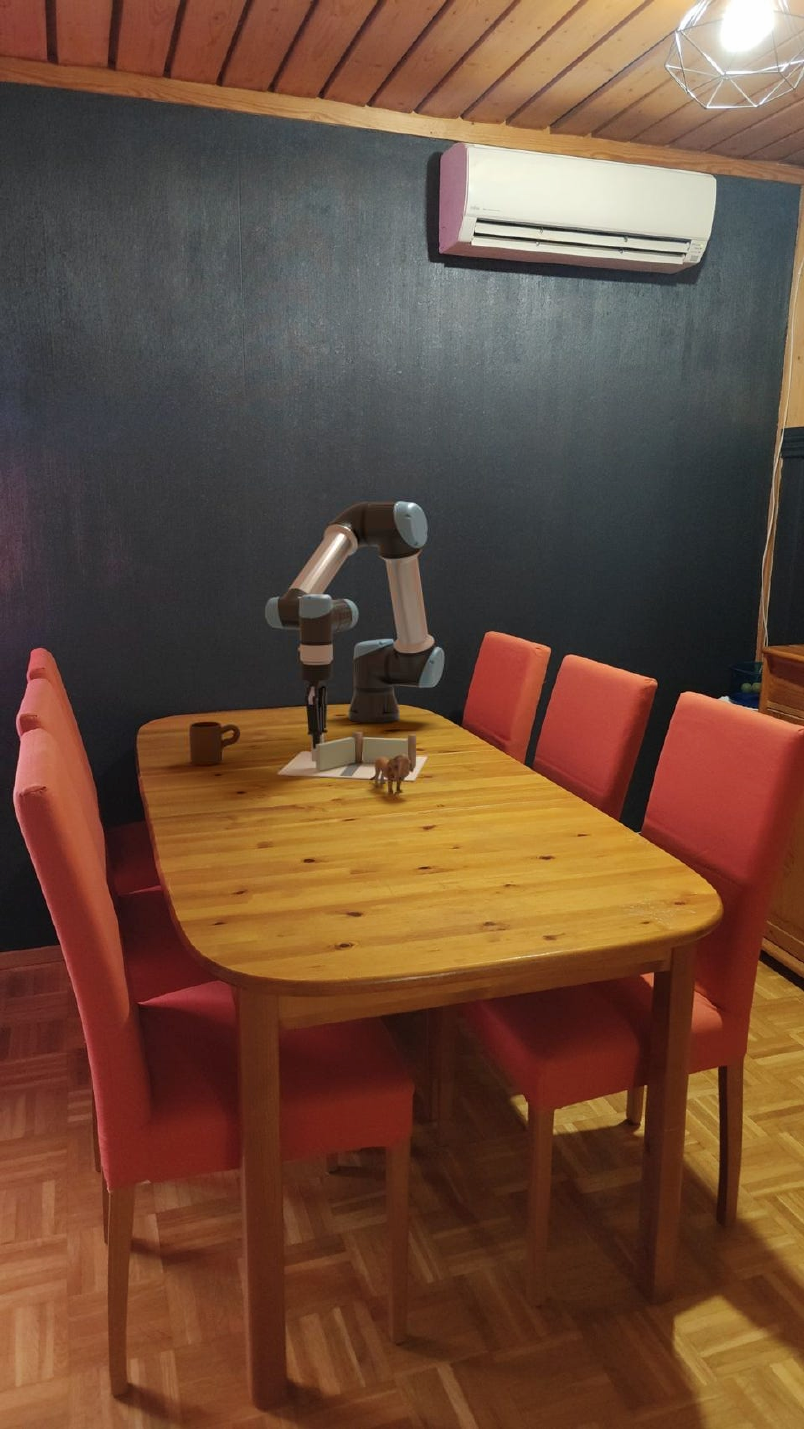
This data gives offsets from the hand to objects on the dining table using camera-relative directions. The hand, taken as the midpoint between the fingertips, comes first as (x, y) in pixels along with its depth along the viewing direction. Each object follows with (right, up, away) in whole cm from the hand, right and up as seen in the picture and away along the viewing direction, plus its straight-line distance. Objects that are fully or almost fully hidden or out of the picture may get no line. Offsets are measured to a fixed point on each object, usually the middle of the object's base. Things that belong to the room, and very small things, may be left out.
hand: (317, 760), depth 227 cm
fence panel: (+4, -1, +1) cm, 4 cm away
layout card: (+9, -1, +3) cm, 9 cm away
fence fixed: (+15, -1, +5) cm, 16 cm away
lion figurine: (+17, -6, -17) cm, 25 cm away
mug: (-25, -1, +6) cm, 26 cm away
